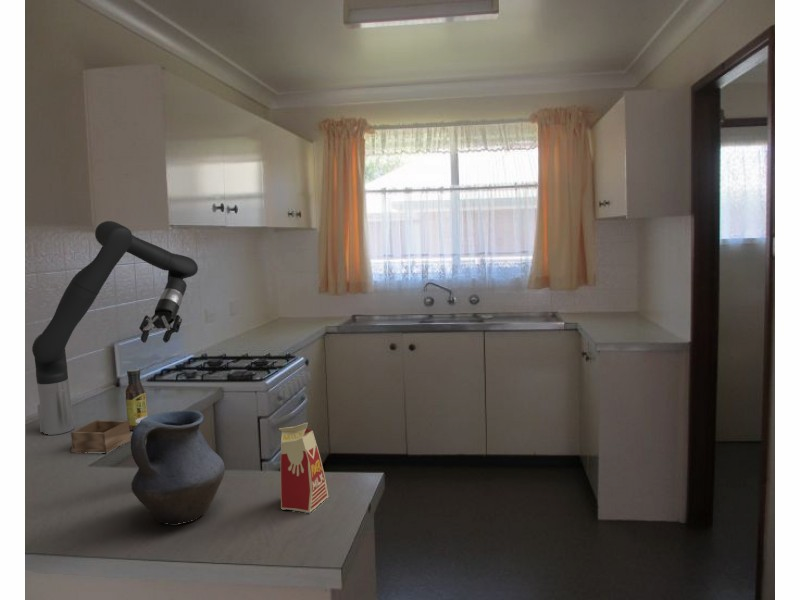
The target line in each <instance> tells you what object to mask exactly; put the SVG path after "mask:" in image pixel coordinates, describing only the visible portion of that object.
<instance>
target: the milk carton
mask: <svg viewBox="0 0 800 600" xmlns="http://www.w3.org/2000/svg"><path fill="white" fill-rule="evenodd" d="M278 430H280V431H281V439H280V468H279V469H280V509H294V510H295V509H296V510H300V511H306V512H311V511H312V510H313V509H315V508H316V507H317V506H318V505H319V504H320V503H322V502H323V501H324V500H325V499H326V498H328V497H329V492H328V486H327V481H326V476H325V471H324V467H323V463H322V458H321V454H320V450H319V448H318V445H317V441H316V438H315V435H314V431H313V429H310V428H309V427H308V422H304V423H302V424H298V425H296V426H289V427H281V428H280V427H279V428H278ZM329 498H330V497H329ZM329 498H328V499H329ZM324 502H325V501H324ZM324 502H323V503H324ZM323 503H322V504H323ZM315 510H316V509H315Z"/></svg>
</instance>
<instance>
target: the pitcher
mask: <svg viewBox="0 0 800 600" xmlns="http://www.w3.org/2000/svg"><path fill="white" fill-rule="evenodd" d="M147 416H148V417H146V418H144V419H142V420H141V421H140V423H139V424H137V426H136V427H135V428H134V430H132V433H131V434H132V435H131V436H132V437H131V441H130V451H131V452H130V453H131V456H132V459H133V460H134V461H133V462H134V463H135V464H136V466H137V467H138V470H137V471H136V473H135V474H134V476H133V478H132V481H131V491H132V493H133V495H134V496H135V497H136V499H138V501H139V503H141V504H142V505H143V506H144V507H145V508H146V509H147V511H148V512H149V513H150V514H151V515H152V516H153V518H154V520H156V521H157V522H159V523H161V522H162V524H163V523H168V524H178V523H183V522H188V521H191V520H194V519H196V518H198V517H200V516H201V515H203V514H204V513H205V514H206V512H207V511H208V509H209V507H210V506H211V503H212V502H213V500H214V499H215V496H216V494H217V491H218V489H219V487H220V486H221V483H222V481H223V479H224V476H225V471H226V467H225V463H224V460H223V459H222V457H221V456H220V455H219V454H217V453H216V452H215V451H214V450H213V448H211V447H210V445H209V444H208V442H207V441H206V439H205V436H204V435H203V434H202V432H201V430H200V425H202V423H203V422H204V415H203V413H202V412H200V411H198V410H191V409H190V410H188V409H187V410H185V409H184V410H173V411H167V412H158V413H153V414H150V415H147ZM145 441H146V445H145ZM205 514H204V515H205ZM204 515H203V516H204ZM201 517H202V516H201ZM201 517H200V518H201ZM198 519H199V518H198ZM196 520H197V519H196Z"/></svg>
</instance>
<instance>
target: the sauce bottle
mask: <svg viewBox="0 0 800 600" xmlns="http://www.w3.org/2000/svg"><path fill="white" fill-rule="evenodd" d="M126 374H127V380H128V385H127V386H126V389H125V404H126V405H125V407H126V419H127V421H129V429H130V431H133V430H134V428H135V427H136V426H137V423H136V420H137V419H139V418H141V417H145V416H148V407H147V394H146V393H147V392H146V390H145V389H144V386H143V385H142V381H141V370H140V368H132V369H128V370H127V371H126Z"/></svg>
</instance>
